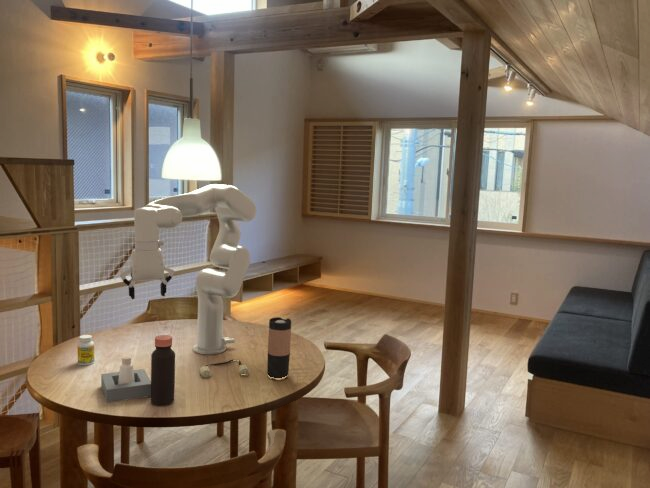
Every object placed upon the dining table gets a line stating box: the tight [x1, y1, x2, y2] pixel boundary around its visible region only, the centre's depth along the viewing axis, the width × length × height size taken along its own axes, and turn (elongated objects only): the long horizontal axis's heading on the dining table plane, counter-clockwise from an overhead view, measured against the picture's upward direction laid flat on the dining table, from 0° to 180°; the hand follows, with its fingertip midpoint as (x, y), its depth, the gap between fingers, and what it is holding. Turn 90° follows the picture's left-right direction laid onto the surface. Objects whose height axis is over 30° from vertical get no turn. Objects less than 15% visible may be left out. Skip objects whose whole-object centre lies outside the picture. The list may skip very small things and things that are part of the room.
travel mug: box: [266, 316, 292, 378], centre depth 189 cm, size 8×8×20 cm
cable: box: [199, 359, 250, 378], centre depth 193 cm, size 16×16×4 cm
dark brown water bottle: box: [150, 334, 176, 407], centre depth 164 cm, size 7×7×20 cm
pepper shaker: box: [118, 355, 135, 385], centre depth 170 cm, size 5×5×11 cm
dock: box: [100, 368, 151, 404], centre depth 171 cm, size 13×13×4 cm
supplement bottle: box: [77, 334, 95, 366], centre depth 191 cm, size 5×5×10 cm
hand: (147, 296), depth 182 cm, fingers open, 9 cm apart
